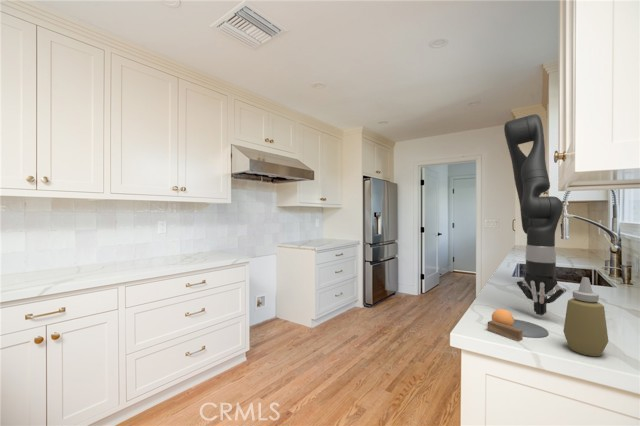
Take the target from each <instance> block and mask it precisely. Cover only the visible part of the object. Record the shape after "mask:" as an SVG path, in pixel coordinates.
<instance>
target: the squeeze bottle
mask: <svg viewBox="0 0 640 426" xmlns="http://www.w3.org/2000/svg"><path fill="white" fill-rule="evenodd" d="M599 297H600V295H599V293H596V292H594V290H593V287H592V284H591V281H590V277H586V276H583V277H581V281H580V283H579V287H578V289H577V290H576V289H574V290H572V297H571V298H570V299H568V300H567V303H566V310H565V311H566V312H565V318H564V325H563V334H564V335H563V336H564V337H565V340H566V343H567V346H568V347H569V349H570V350H572V351H574V352H576V353H579V354H582V355H585V356H589V357H590V356H591V357H602V355H603V353H604V352H605V349H606V347H607V345H608V343H609V336H608V335H609V334H608V327H607V320H606V319H607V317H606V311H605V306H604V305H603V304H602V303H601V302H599V301H600V300H599V299H600V298H599Z"/></svg>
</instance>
